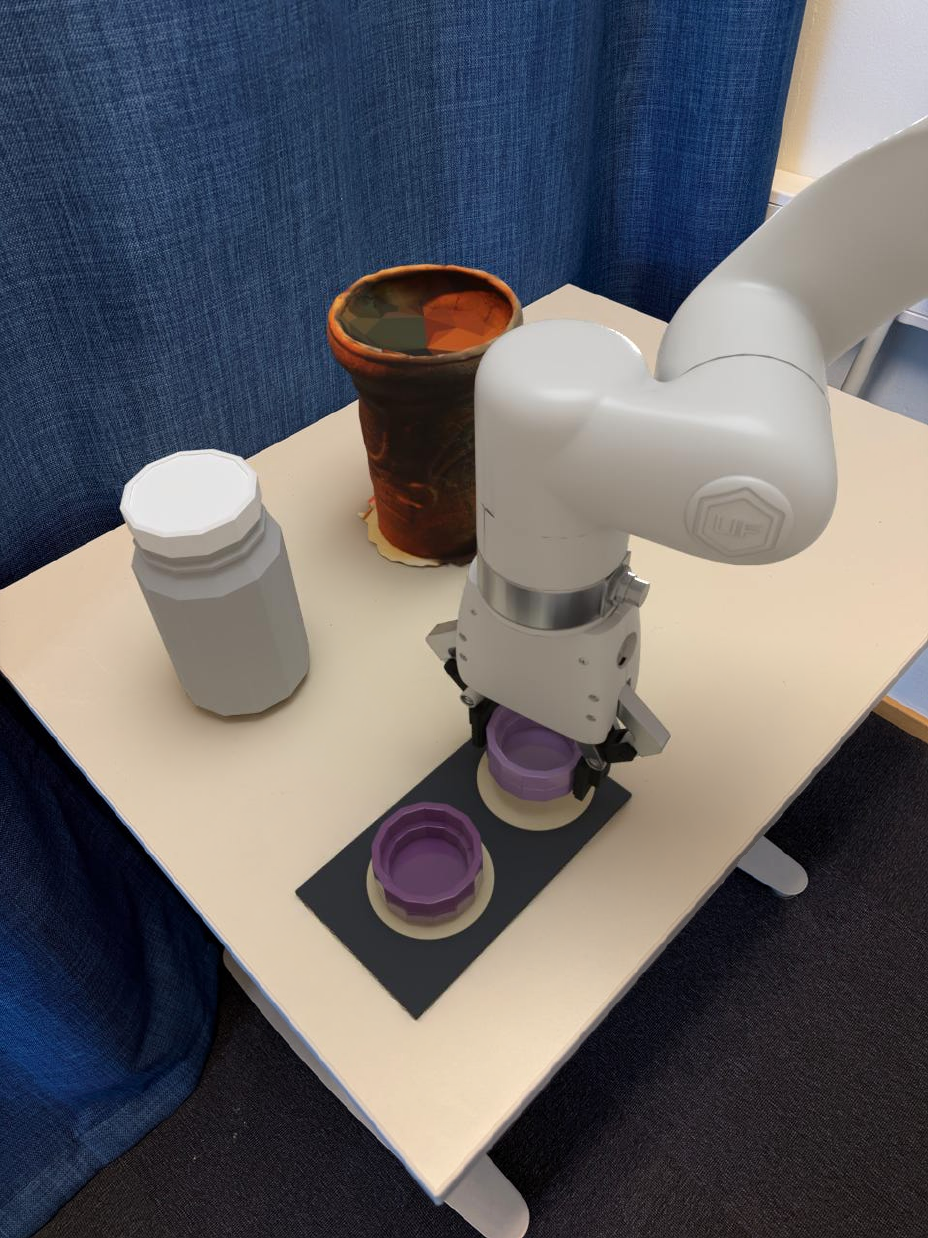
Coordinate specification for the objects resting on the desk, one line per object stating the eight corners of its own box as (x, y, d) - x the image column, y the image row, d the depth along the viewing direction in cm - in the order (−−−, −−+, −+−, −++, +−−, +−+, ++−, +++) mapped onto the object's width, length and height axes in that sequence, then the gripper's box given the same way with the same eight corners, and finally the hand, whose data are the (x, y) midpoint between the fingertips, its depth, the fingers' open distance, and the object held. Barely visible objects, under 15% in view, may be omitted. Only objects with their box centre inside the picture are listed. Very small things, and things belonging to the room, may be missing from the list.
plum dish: (448, 811, 60) (446, 784, 57) (503, 894, 56) (503, 868, 53) (358, 859, 58) (352, 833, 55) (409, 949, 54) (404, 925, 51)
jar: (174, 645, 71) (99, 461, 57) (296, 610, 73) (251, 425, 59) (194, 742, 64) (116, 562, 51) (327, 701, 67) (285, 518, 53)
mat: (515, 702, 66) (515, 698, 66) (636, 792, 61) (637, 788, 61) (295, 893, 57) (294, 890, 56) (416, 1020, 51) (415, 1017, 51)
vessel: (403, 448, 87) (384, 244, 72) (542, 487, 82) (553, 278, 67) (326, 543, 78) (286, 334, 63) (476, 591, 74) (472, 379, 59)
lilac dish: (549, 705, 63) (551, 675, 60) (607, 777, 59) (612, 747, 57) (468, 747, 61) (467, 717, 58) (523, 824, 57) (524, 795, 54)
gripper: (739, 582, 45) (683, 774, 58) (448, 469, 52) (456, 665, 65) (678, 683, 41) (633, 866, 54) (370, 547, 47) (396, 740, 61)
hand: (537, 755), depth 59 cm, fingers closed on lilac dish, 6 cm apart
